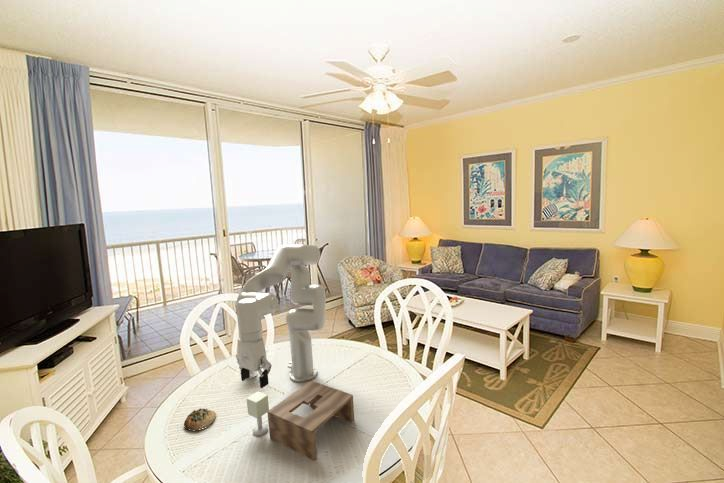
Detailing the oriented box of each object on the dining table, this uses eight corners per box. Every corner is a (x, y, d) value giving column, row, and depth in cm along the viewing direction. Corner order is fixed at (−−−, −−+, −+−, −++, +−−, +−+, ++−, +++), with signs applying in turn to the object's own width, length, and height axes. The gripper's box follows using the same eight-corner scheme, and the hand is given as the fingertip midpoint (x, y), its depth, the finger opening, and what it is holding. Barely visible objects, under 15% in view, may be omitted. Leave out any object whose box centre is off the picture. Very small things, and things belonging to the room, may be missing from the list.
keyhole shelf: (269, 438, 117) (267, 411, 116) (312, 404, 135) (311, 380, 134) (314, 460, 106) (311, 431, 105) (354, 420, 124) (352, 394, 123)
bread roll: (181, 421, 129) (181, 408, 129) (212, 412, 136) (212, 400, 135) (187, 437, 120) (187, 424, 120) (220, 427, 127) (220, 414, 127)
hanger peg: (250, 432, 121) (246, 398, 119) (261, 424, 125) (258, 391, 123) (259, 437, 118) (256, 402, 116) (270, 429, 122) (267, 395, 120)
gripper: (225, 334, 118) (229, 381, 120) (258, 343, 109) (263, 394, 110) (243, 327, 124) (247, 371, 126) (276, 335, 115) (280, 383, 117)
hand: (254, 382), depth 118 cm, fingers open, 9 cm apart
